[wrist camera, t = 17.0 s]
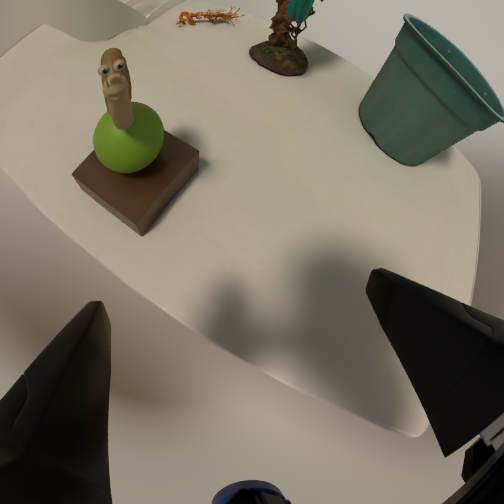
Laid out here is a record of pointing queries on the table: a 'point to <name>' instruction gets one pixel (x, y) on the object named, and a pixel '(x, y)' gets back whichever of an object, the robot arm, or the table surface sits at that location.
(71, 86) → the table surface
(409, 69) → the flower pot
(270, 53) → the sculpture
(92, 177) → the riser
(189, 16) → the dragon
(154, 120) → the snail figurine
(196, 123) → the table surface
